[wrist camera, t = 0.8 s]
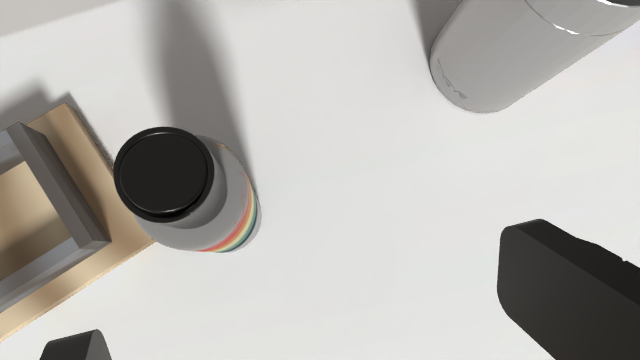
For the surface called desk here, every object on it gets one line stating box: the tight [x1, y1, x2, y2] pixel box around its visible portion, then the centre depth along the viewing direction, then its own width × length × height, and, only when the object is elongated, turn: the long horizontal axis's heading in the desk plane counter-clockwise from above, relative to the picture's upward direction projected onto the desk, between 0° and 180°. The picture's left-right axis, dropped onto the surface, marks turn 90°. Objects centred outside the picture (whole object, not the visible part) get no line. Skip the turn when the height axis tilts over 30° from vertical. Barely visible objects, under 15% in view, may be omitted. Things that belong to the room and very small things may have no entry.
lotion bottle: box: [113, 127, 261, 253], centre depth 26 cm, size 6×6×20 cm
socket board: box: [0, 103, 156, 342], centre depth 32 cm, size 15×13×5 cm
